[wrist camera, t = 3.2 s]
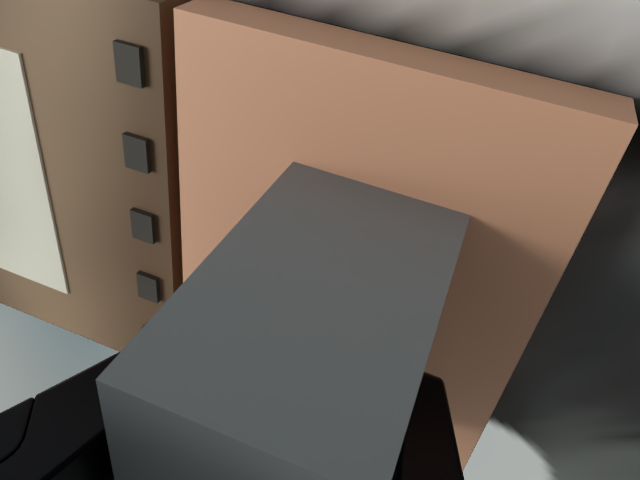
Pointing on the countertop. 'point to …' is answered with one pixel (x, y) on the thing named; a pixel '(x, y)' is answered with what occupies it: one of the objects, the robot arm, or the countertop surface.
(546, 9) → the countertop surface
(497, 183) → the stub
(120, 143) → the board
